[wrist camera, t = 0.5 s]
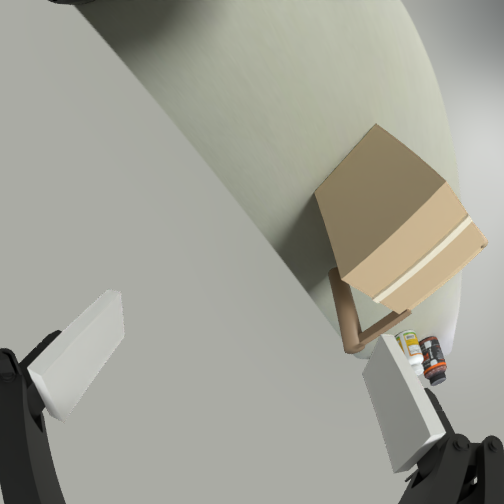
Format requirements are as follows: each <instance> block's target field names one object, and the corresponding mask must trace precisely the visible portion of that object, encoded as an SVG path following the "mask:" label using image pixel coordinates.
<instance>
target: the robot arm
mask: <svg viewBox="0 0 504 504" xmlns="http://www.w3.org/2000/svg"><path fill="white" fill-rule="evenodd" d="M49 1H51V2H54V3H57V4H69V5H78V4H84V3H88V2H91V1H94V0H49ZM124 337H125V331H124V322H123V311H122V298H121V292H119V291H115V290H111V289H108V290H107V291H106V292H105V293H103V294H102V295H101V296H100V297H99V298H98V299H97V300H96V301H95V302H93V303H92V304H91V305H90V306H89V307H88V308H87V309H86V310H85V311H84V312H83V313H82V314H81V315H79V316H78V317H77V318H76V319H75V320H74V321H73V322H72V323H71V324H70V325H69V326H68V327H67V328H66V329H65V330H64V331H63V332H62V331H60V330H57V331H55V332H53V333H51V334H49V335H48V336H47V337H46V338H44V339H43V341H42V343H39V344H38V345H37V347H35V348H34V349H33V350H32V351H31V352H30V353H29V354H28V355H27V356H26V357H25V358H24V359H23V360H22V361H21V362H20V363H19V364H18V361H17V359H16V356H15V354H14V353H13V352H12V351H11V350H9V349H7V348H1V349H0V485H1V490H2V495H3V500H4V504H66V503H65V500H64V497H63V494H62V491H61V488H60V485H59V482H58V479H57V475H56V472H55V468H54V464H53V460H52V456H51V452H50V448H49V443H48V438H47V433H46V427H45V421H44V416H43V413H42V410H43V409H44V408H45V407H46V409H47V411H48V412H49V414H50V415H51V416H53V417H54V418H56V419H58V420H60V421H62V422H63V423H64V422H65V420H66V419H67V417H68V416H69V414H70V412H71V411H72V410H73V408H74V407H75V405H76V404H77V402H78V401H79V399H80V398H81V397H82V395H83V394H84V392H85V391H86V389H87V388H88V386H89V385H90V384H91V382H92V381H93V379H94V378H95V376H96V375H97V373H98V372H99V371H100V369H101V368H102V367H103V365H104V364H105V362H106V361H107V360H108V358H109V357H110V356H111V354H112V353H113V352H114V350H115V349H116V347H117V346H118V345H119V343H120V342H121V341H122V339H123V338H124ZM362 375H363V378H364V380H365V383H366V386H367V389H368V392H369V395H370V398H371V401H372V404H373V407H374V409H375V412H376V416H377V419H378V422H379V425H380V428H381V431H382V435H383V438H384V441H385V444H386V448H387V451H388V454H389V458H390V461H391V465H392V468H393V472H394V473H398V472H403V471H408V470H409V469H411V467H413V466H414V465H415V464H416V463H417V466H418V469H417V470H416V471H415V472H414V473H412V474H411V475H410V476H409V477H408V478H407V479H406V480H405V482H407V481H408V480H410V479H411V481H410V483H409V485H408V486H407V489H406V490H405V492H404V494H403V496H402V498H401V500H400V502H399V503H398V504H504V449H503V445H502V442H501V441H500V439H499V438H497V437H495V436H488V437H486V438H485V439H484V440H483V441H482V443H470V441H469V440H468V438H467V437H465V436H464V435H462V434H455V432H454V430H453V429H452V427H451V424H450V422H449V421H448V419H447V417H446V415H445V413H444V411H442V407H441V405H439V402H438V400H437V398H436V396H435V395H434V394H433V393H432V392H431V391H430V390H429V389H428V388H423V386H422V385H421V383H420V381H419V379H418V377H417V375H416V374H415V372H414V370H413V368H412V366H411V365H410V363H409V361H408V359H407V358H406V356H405V354H404V353H403V351H402V349H401V347H400V346H399V344H398V342H397V341H396V339H395V337H394V336H393V335H387V334H380V337H379V339H378V341H377V344H376V346H375V348H374V350H373V352H372V355H371V357H370V359H369V361H368V363H367V365H366V367H365V369H364V371H363V373H362ZM476 477H477V483H475V484H474V479H475V478H476Z"/></svg>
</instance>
